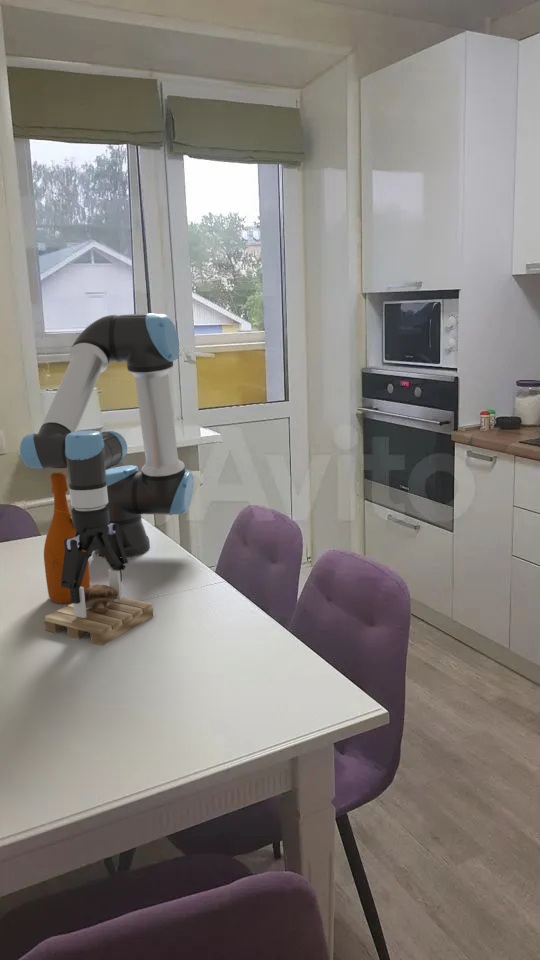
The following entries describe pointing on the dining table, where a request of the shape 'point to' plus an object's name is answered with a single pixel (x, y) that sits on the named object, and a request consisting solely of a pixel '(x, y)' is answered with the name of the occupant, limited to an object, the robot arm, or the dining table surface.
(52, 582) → the wine bottle
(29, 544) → the dining table surface
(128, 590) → the dining table surface
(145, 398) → the robot arm
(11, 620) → the dining table surface
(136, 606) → the pallet
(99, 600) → the mushroom
